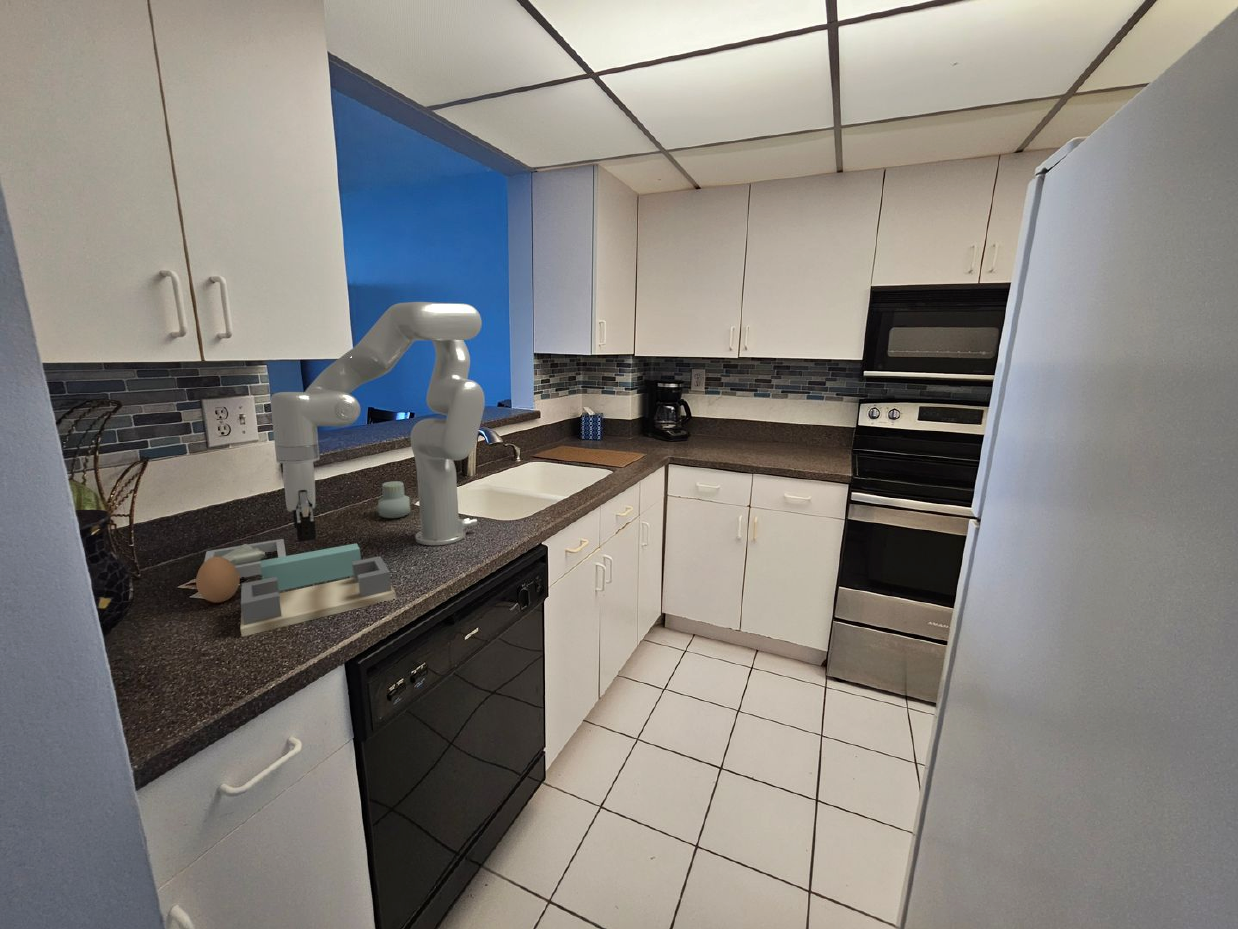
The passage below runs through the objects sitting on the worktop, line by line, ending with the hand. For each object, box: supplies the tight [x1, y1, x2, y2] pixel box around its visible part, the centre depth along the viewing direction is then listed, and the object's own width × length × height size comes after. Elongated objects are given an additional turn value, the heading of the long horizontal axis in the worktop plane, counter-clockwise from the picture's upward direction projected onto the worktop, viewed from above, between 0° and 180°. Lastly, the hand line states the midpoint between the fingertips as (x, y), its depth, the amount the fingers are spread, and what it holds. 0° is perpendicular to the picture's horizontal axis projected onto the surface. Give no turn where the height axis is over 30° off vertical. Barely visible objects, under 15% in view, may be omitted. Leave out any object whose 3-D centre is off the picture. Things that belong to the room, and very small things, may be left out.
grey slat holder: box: [240, 555, 392, 625], centre depth 99 cm, size 24×10×4 cm, turn 125°
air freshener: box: [377, 480, 411, 519], centre depth 153 cm, size 11×8×10 cm
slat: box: [261, 543, 362, 592], centre depth 110 cm, size 18×4×6 cm, turn 125°
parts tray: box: [203, 538, 287, 579], centre depth 117 cm, size 15×15×2 cm
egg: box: [195, 557, 240, 604], centre depth 100 cm, size 7×7×9 cm
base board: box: [240, 577, 397, 638], centre depth 100 cm, size 25×12×2 cm, turn 125°
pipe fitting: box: [222, 543, 267, 566], centre depth 117 cm, size 8×4×7 cm
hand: (305, 533), depth 108 cm, fingers open, 9 cm apart
